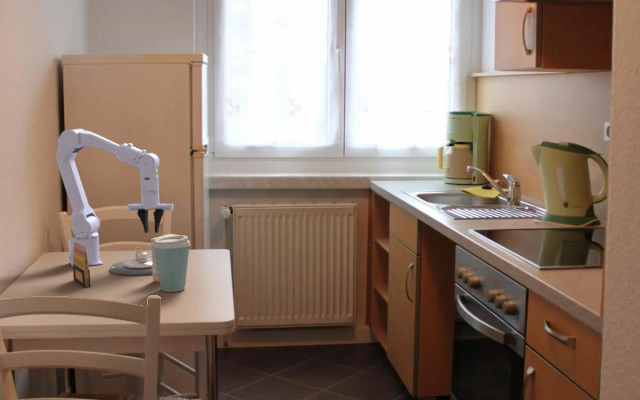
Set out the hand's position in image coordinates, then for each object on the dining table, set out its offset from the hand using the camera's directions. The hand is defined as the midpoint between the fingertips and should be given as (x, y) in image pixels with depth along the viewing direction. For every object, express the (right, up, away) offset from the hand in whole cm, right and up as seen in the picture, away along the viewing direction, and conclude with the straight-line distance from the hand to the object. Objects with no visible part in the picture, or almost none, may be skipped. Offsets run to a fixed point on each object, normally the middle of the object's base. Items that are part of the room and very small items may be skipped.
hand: (151, 232), depth 249 cm
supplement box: (+9, -13, -20) cm, 25 cm away
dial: (-2, -10, -4) cm, 11 cm away
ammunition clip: (-15, -14, -23) cm, 31 cm away
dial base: (-2, -11, -5) cm, 12 cm away
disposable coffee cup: (+13, -15, -31) cm, 37 cm away
